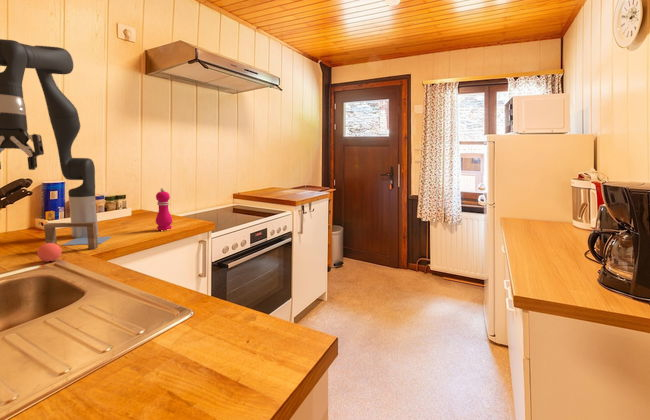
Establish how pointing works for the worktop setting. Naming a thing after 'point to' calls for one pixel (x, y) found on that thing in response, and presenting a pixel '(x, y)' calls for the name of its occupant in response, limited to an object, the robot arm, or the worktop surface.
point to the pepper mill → (163, 211)
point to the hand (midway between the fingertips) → (14, 169)
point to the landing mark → (85, 241)
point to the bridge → (91, 226)
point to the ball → (49, 252)
